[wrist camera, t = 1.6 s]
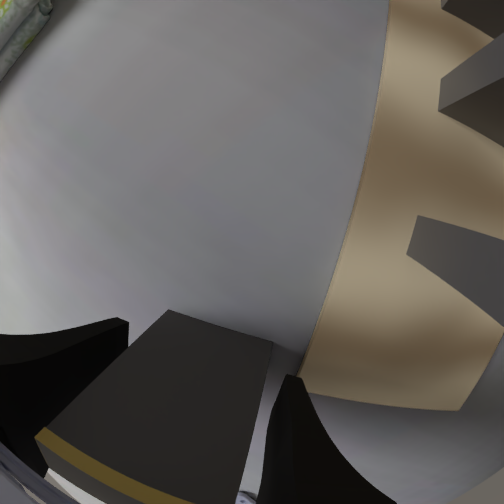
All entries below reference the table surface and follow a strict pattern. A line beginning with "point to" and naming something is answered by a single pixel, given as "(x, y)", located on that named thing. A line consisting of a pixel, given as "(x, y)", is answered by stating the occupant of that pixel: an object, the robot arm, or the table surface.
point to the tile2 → (462, 261)
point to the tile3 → (477, 91)
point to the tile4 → (479, 14)
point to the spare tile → (164, 417)
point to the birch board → (400, 231)
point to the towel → (19, 28)
